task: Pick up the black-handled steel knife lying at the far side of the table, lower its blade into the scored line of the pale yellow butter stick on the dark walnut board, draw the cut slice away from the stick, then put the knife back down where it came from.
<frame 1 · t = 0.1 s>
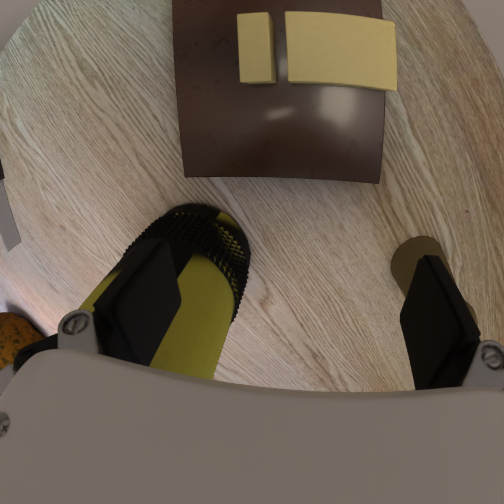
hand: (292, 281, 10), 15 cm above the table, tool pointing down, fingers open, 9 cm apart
butter stick: (337, 54, 16), point 1 cm above the table, touching cutting board
cork: (417, 261, 25), on the table
container: (201, 248, 29), on the table
butter slice: (261, 52, 17), point 1 cm above the table, touching cutting board
knife: (2, 181, 29), on the table
cutting board: (278, 54, 18), on the table
decorative pumpkin: (33, 332, 51), on the table
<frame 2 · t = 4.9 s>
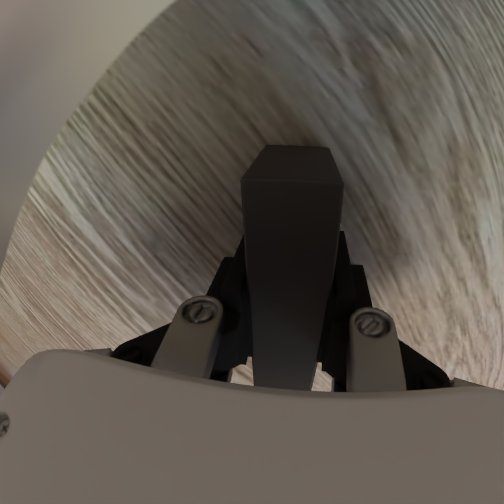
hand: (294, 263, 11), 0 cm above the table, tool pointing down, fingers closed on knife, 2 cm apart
knife: (289, 340, 14), on the table, touching gripper
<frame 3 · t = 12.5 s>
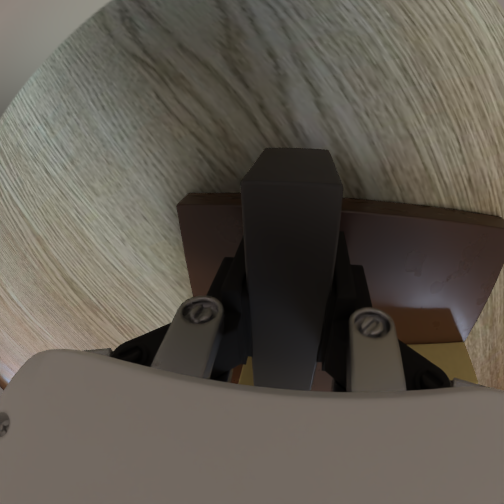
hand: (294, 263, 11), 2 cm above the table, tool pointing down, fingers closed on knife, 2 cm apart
butter stick: (403, 369, 15), point 1 cm above the table, touching cutting board
knife: (289, 341, 14), point 2 cm above the table, touching butter slice, gripper
cutting board: (336, 350, 17), on the table
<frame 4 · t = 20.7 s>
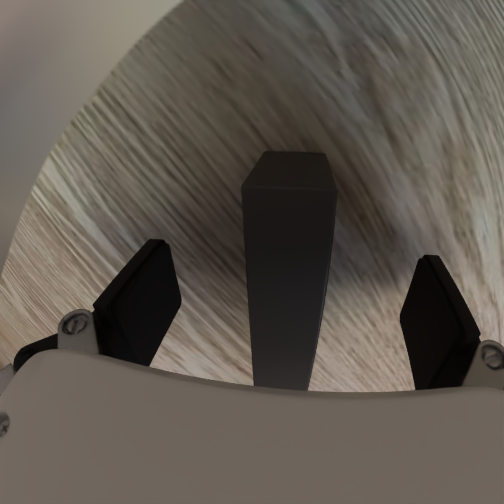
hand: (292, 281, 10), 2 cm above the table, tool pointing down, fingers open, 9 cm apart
knife: (287, 338, 14), on the table
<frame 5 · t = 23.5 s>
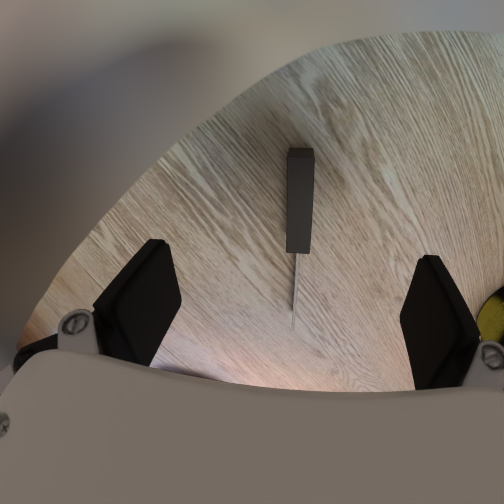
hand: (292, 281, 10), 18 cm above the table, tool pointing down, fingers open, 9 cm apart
container: (501, 308, 29), on the table
knife: (299, 237, 30), on the table
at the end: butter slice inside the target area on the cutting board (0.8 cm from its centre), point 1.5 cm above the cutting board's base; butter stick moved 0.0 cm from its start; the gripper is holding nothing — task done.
